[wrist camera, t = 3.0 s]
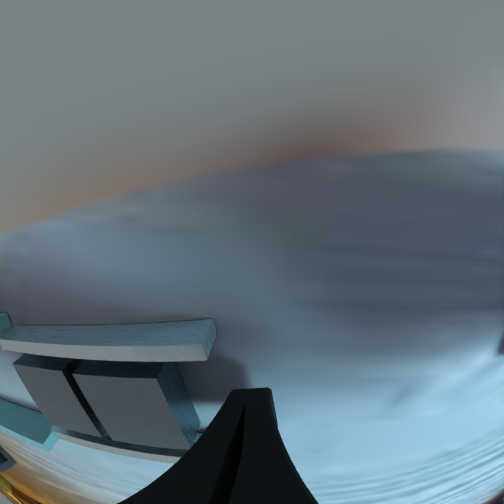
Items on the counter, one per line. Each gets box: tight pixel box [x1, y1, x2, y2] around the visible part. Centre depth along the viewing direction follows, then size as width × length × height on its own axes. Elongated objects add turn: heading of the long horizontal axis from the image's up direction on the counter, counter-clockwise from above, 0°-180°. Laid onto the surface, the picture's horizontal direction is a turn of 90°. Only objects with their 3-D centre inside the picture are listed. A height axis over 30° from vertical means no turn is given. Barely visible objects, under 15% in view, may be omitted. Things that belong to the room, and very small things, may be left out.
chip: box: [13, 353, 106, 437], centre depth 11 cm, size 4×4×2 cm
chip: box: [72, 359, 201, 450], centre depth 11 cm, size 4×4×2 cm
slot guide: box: [0, 319, 217, 463], centre depth 11 cm, size 11×7×2 cm, turn 100°
